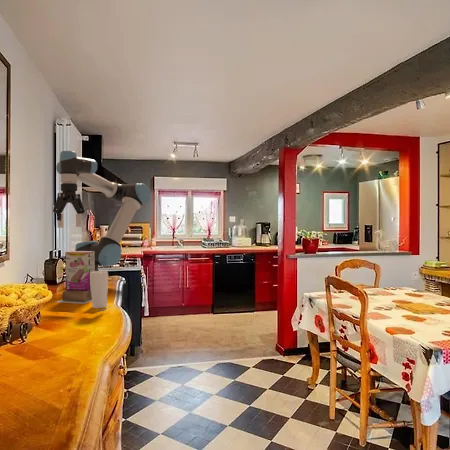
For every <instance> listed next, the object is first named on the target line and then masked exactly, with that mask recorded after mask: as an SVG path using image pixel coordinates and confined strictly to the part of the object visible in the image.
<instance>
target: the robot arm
mask: <svg viewBox="0 0 450 450" xmlns="http://www.w3.org/2000/svg"><path fill="white" fill-rule="evenodd" d="M55 166H56V167H55V168H56V172H57V174H59V175H60V191H61V192H57V196H56V201H55V204H54V207H53V210H52V213H54V215H55V214H56V221H57V222H56V223H57V225H56V226H57V228H58V229H59V228H61V229H62V228H64V213H63V211H64V210H65V208H66V206H67V204H69V203H70V204H71V205H72V207H73V209H74V211H75V212H76V213H75V227H77V228H82V227H83V225H82V222H83V221H82V220H83V214H85V208H84V204H83V202H82V199H81V194H80V193H77V192H78V184H77V183H78V182H81V183H83V184H85V185H87V186H89V187H91V188H92V189H95V190H96V191H98V192H101V193H103V194H104V195H105V197H106V198H108V199H111V200H113V201H115V202H118V203H121V206H120V208H119V209H118V212H117V213H116V215H115V217H114V219H113V221H112V223H111V225H110V227H109V228H108V231H107V232H106V234H105V236H102V237H100V239H99V241H98V240H89V241H81V242H77V243H76V244H75V250H74V251H94V252H95V271H100V269H99V266H103V267H111V266H114V265H117V264H118V262H119V261H121V258H122V245H121V242H122V239H123V238H124V236H125V233H126V232H127V230H128V228H129V226H130V224H131V222H132V220H133V218H134V216H135V214H136V212H137V210H140V209H142V206H143V204H146V203H148V202H149V201H150V198H151V192H150V189H149V187H148V186H147V184H145V183H143V182H141V183H139V182H137V183H124V184H123V183H121V184H120V183H117V182H116V181H115V182H114V181H110V180H107V179H106V178H104V177H102V176H101V175H98V174H96V172H97V171H98V162H97V161H96V160H95V159H92V158H87V157H81V156H78V155H77V152H76V151H74V150H62V151H60V154H59V162H57V164H56V165H55Z"/></svg>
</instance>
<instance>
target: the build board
mask: <svg viewBox="0 0 450 450" xmlns="http://www.w3.org/2000/svg"><path fill="white" fill-rule="evenodd" d="M90 302H91V303H92V299H90V300H88V301H85V302H74V301H63V299H60V300H58V301H56V303H66V304H67V303H68V304H81V305H82V304H88V303H90Z"/></svg>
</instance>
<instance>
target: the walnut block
mask: <svg viewBox="0 0 450 450" xmlns="http://www.w3.org/2000/svg"><path fill="white" fill-rule="evenodd" d="M61 294H62V300H63V301H74V302H85V301H88V300H90V299H92V297H91V291H77V290H66V289H65V290H63V291H62V293H61Z"/></svg>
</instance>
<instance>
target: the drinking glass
mask: <svg viewBox="0 0 450 450" xmlns="http://www.w3.org/2000/svg"><path fill="white" fill-rule="evenodd" d="M90 288H91V297H92V301H91V305H92V306H91V307H92V309H93V308H94V309H101V310H99V312H104V311H107V309H108V307H107V306H108V293H109V292H108V291H109V272H108V270H99V271H93V272H90ZM102 308H103V309H102Z"/></svg>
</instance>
